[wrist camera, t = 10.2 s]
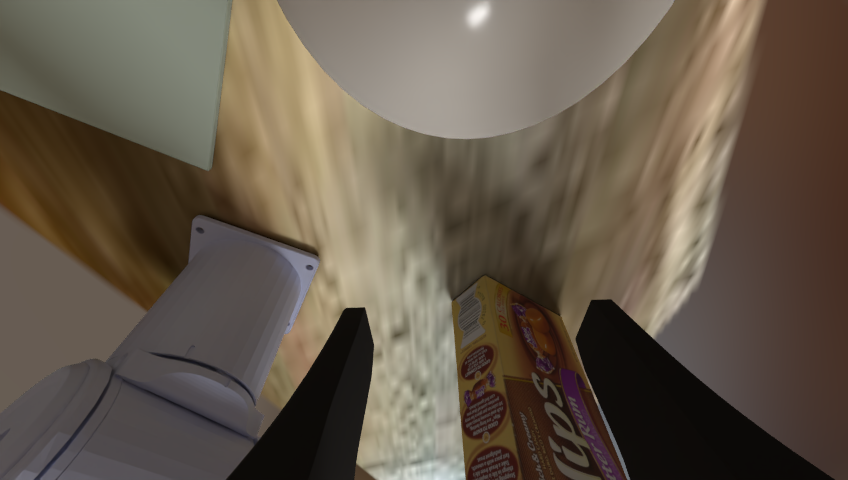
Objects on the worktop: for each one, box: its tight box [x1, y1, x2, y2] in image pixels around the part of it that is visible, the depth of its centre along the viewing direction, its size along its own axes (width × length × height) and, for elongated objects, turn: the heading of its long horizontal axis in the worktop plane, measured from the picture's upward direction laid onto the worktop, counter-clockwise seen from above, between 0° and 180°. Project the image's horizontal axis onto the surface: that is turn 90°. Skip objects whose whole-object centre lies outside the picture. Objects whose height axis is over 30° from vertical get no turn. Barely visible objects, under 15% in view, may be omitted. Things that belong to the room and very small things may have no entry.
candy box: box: [452, 275, 627, 480], centre depth 20 cm, size 9×4×15 cm, turn 55°
